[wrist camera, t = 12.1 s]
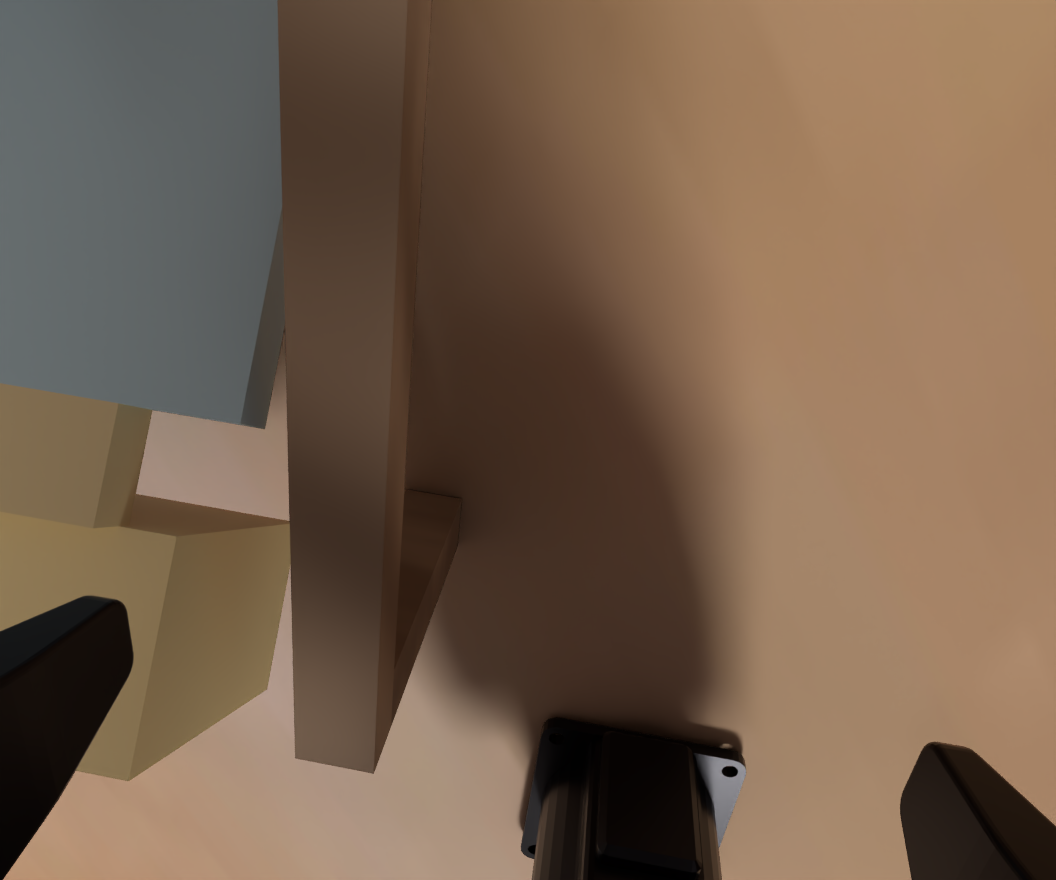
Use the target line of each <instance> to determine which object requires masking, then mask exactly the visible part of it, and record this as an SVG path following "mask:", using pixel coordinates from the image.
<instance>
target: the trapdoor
mask: <svg viewBox="0 0 1056 880" xmlns="http://www.w3.org/2000/svg"><path fill="white" fill-rule="evenodd" d="M284 327H285V302H284V260H283V217H282V175H281V132H280V90H279V47H278V5H277V0H0V631H2V630H4V629H6V628H9V627H11V626H13V625H16V624H18V623H21V622H23V621H25V620H28V619H30V618H32V617H35V616H37V615H39V614H42V613H44V612H46V611H49V610H51V609H54V608H56V607H58V606H61V605H63V604H65V603H68V602H70V601H72V600H75V599H77V598H80V597H82V596H87V595H94V596H100V597H105V598H111V599H117V600H119V601H121V602H122V603H123V604H124V605H125V607H126V609H127V613H128V620H129V626H130V633H131V639H132V646H133V652H134V660H133V666H132V670H131V672H130V675H129V677H128V679H127V681H126V683H125V684H124V686H123V688H122V690H121V691H120V693H119V695H118V697H117V698H116V700H115V702H114V704H113V705H112V707H111V709H110V711H109V713H108V714H107V716H106V718H105V720H104V721H103V723H102V725H101V727H100V728H99V730H98V732H97V734H96V736H95V737H94V739H93V741H92V743H91V744H90V746H89V748H88V750H87V751H86V753H85V755H84V757H83V758H82V760H81V762H80V764H79V766H78V767H77V769H76V771H80V772H85V773H90V774H95V775H100V776H105V777H110V778H115V779H120V780H125V781H130V780H131V779H133V778H134V777H136V776H137V775H139V774H140V773H142V772H143V771H145V770H146V769H148V768H149V767H151V766H152V765H154V764H155V763H157V762H158V761H160V760H161V759H163V758H164V757H166V756H167V755H169V754H170V753H172V752H173V751H175V750H176V749H178V748H179V747H181V746H182V745H184V744H185V743H187V742H188V741H190V740H191V739H193V738H194V737H196V736H197V735H199V734H200V733H202V732H203V731H205V730H206V729H208V728H209V727H211V726H212V725H214V724H215V723H217V722H218V721H220V720H221V719H223V718H224V717H226V716H227V715H229V714H230V713H232V712H233V711H235V710H236V709H238V708H239V707H241V706H242V705H244V704H245V703H247V702H248V701H250V700H251V699H253V698H254V697H256V696H257V695H259V694H261V693H262V692H264V691H265V690H267V686H268V681H269V676H270V670H271V665H272V660H273V654H274V649H275V644H276V638H277V633H278V628H279V622H280V617H281V612H282V606H283V601H284V596H285V590H286V585H287V580H288V574H289V569H290V564H291V557H290V521H286V520H280V519H275V518H269V517H263V516H258V515H252V514H246V513H241V512H235V511H229V510H224V509H218V508H212V507H207V506H201V505H195V504H190V503H184V502H178V501H173V500H167V499H161V498H156V497H150V496H144V495H139V494H136V489H137V484H138V479H139V474H140V469H141V464H142V459H143V454H144V449H145V444H146V439H147V434H148V429H149V424H150V419H151V414H152V410H155V411H161V412H167V413H173V414H179V415H185V416H191V417H196V418H202V419H208V420H214V421H220V422H226V423H232V424H238V425H244V426H249V427H255V428H261V429H265V426H266V421H267V416H268V410H269V405H270V400H271V395H272V390H273V384H274V379H275V374H276V369H277V363H278V358H279V353H280V348H281V343H282V337H283V332H284Z"/></svg>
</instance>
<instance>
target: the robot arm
mask: <svg viewBox="0 0 1056 880" xmlns="http://www.w3.org/2000/svg"><path fill="white" fill-rule="evenodd" d="M133 660H134V652H133V646H132V639H131V633H130V626H129V620H128V613H127V609H126V607H125V605H124V604H123V603H122V602H121V601H119V600H117V599H111V598H105V597H100V596H94V595H87V596H82V597H80V598H77V599H75V600H72V601H70V602H68V603H65V604H63V605H61V606H58V607H56V608H54V609H51V610H49V611H46V612H44V613H42V614H39V615H37V616H35V617H32V618H30V619H28V620H25V621H23V622H21V623H18V624H16V625H13V626H11V627H9V628H6V629H4V630H2V631H0V880H3V879H4V877H5V876H6V874H7V873H8V872H9V870H10V869H11V867H12V866H13V864H14V863H15V862H16V860H17V859H18V857H19V856H20V855H21V853H22V852H23V850H24V849H25V847H26V846H27V845H28V843H29V842H30V840H31V839H32V837H33V836H34V835H35V833H36V832H37V830H38V829H39V827H40V826H41V825H42V823H43V822H44V820H45V819H46V817H47V816H48V814H49V813H50V811H51V810H52V808H53V807H54V805H55V804H56V802H57V801H58V799H59V798H60V796H61V794H62V793H63V791H64V789H65V788H66V786H67V785H68V783H69V781H70V780H71V778H72V776H73V774H74V773H75V771H76V769H77V767H78V766H79V764H80V762H81V760H82V758H83V757H84V755H85V753H86V751H87V750H88V748H89V746H90V744H91V743H92V741H93V739H94V737H95V736H96V734H97V732H98V730H99V728H100V727H101V725H102V723H103V721H104V720H105V718H106V716H107V714H108V713H109V711H110V709H111V707H112V705H113V704H114V702H115V700H116V698H117V697H118V695H119V693H120V691H121V690H122V688H123V686H124V684H125V683H126V681H127V679H128V677H129V675H130V672H131V670H132V666H133ZM553 733H559V734H562V735H556V734H553ZM726 766H732V767H726ZM745 776H746V766H745V760H744V758H743V756H742V755H741V754H740V753H738V752H736V751H733V750H728V749H723V748H717V747H712V746H707V745H701V744H696V743H691V742H685V741H680V740H675V739H669V738H664V737H659V736H653V735H648V734H643V733H638V732H632V731H627V730H622V729H616V728H611V727H606V726H600V725H595V724H590V723H584V722H579V721H574V720H568V719H563V718H551V719H548V720H547V721H545V722H544V724H543V727H542V732H541V738H540V743H539V749H538V754H537V760H536V765H535V771H534V776H533V781H532V787H531V792H530V798H529V803H528V809H527V814H526V820H525V825H524V831H523V836H522V843H521V851H522V852H523V854H524V855H526V856H527V857H529V858H532V859H534V866H533V874H532V880H722V876H721V866H720V857H719V847H720V844H721V841H722V839H723V836H724V833H725V830H726V828H727V825H728V822H729V819H730V817H731V814H732V811H733V808H734V806H735V803H736V800H737V798H738V795H739V792H740V789H741V787H742V784H743V781H744V778H745ZM900 814H901V821H902V827H903V833H904V838H905V844H906V850H907V855H908V861H909V867H910V872H911V878H912V880H1056V826H1055V825H1054V824H1053V823H1052V822H1051V821H1050V820H1049V819H1047V818H1046V817H1045V816H1044V815H1043V814H1042V813H1041V812H1040V811H1039V810H1038V809H1037V808H1036V807H1034V806H1033V805H1032V804H1031V803H1030V802H1029V801H1028V800H1027V799H1026V798H1025V797H1024V796H1022V795H1021V794H1020V793H1019V792H1018V791H1017V790H1016V789H1015V788H1014V787H1013V786H1012V785H1011V784H1009V783H1008V782H1007V781H1006V780H1005V779H1004V778H1003V777H1002V776H1001V775H1000V774H999V773H997V772H996V771H995V770H994V769H993V768H992V767H991V766H990V765H989V764H988V763H987V762H986V761H984V760H983V759H982V758H981V757H980V756H979V755H978V754H977V753H975V752H974V751H973V750H971V749H969V748H967V747H963V746H958V745H952V744H946V743H941V742H930V743H928V744H927V745H926V746H924V748H923V749H922V751H921V753H920V755H919V758H918V760H917V762H916V764H915V766H914V768H913V771H912V773H911V775H910V777H909V779H908V781H907V784H906V786H905V788H904V790H903V793H902V797H901V803H900Z"/></svg>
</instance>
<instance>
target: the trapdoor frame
mask: <svg viewBox="0 0 1056 880" xmlns="http://www.w3.org/2000/svg"><path fill="white" fill-rule="evenodd" d="M277 5H278V47H279V90H280V132H281V175H282V217H283V260H284V302H285V345H286V387H287V430H288V472H289V515H290V557H291V600H292V643H293V685H294V728H295V758H296V759H302V760H307V761H312V762H317V763H322V764H327V765H332V766H338V767H343V768H348V769H353V770H358V771H363V772H368V773H373V774H374V771H375V769H376V766H377V763H378V760H379V758H380V755H381V752H382V750H383V747H384V744H385V741H386V739H387V736H388V733H389V731H390V728H391V725H392V722H393V720H394V717H395V714H396V712H397V709H398V706H399V703H400V701H401V698H402V695H403V693H404V690H405V687H406V684H407V682H408V679H409V676H410V674H411V671H412V668H413V665H414V663H415V660H416V657H417V655H418V652H419V649H420V646H421V644H422V641H423V638H424V636H425V633H426V630H427V627H428V625H429V622H430V619H431V617H432V614H433V611H434V608H435V606H436V603H437V600H438V598H439V595H440V592H441V589H442V587H443V584H444V581H445V579H446V576H447V573H448V570H449V568H450V565H451V562H452V560H453V557H454V554H455V551H456V549H457V546H458V537H459V526H460V516H461V506H462V499H459V498H453V497H447V496H442V495H436V494H430V493H424V492H418V491H413V490H406V491H405V493H404V487H405V469H406V452H407V434H408V416H409V399H410V381H411V363H412V346H413V328H414V310H415V292H416V275H417V257H418V239H419V222H420V204H421V186H422V169H423V151H424V133H425V115H426V98H427V80H428V62H429V45H430V27H431V9H432V0H277Z"/></svg>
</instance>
